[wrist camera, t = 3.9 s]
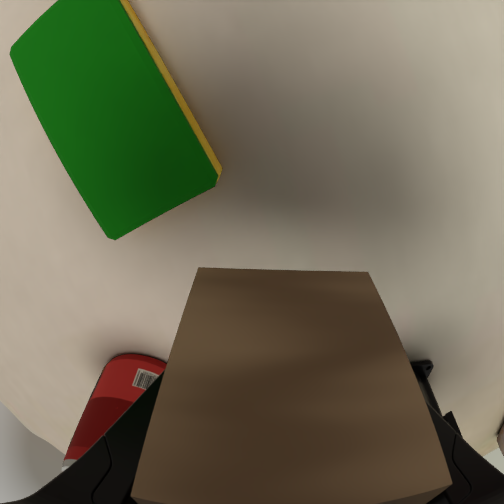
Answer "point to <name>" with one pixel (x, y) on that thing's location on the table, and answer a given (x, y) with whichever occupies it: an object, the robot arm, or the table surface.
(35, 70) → the dish sponge
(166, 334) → the table surface
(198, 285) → the walnut block
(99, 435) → the canned food
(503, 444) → the food item
